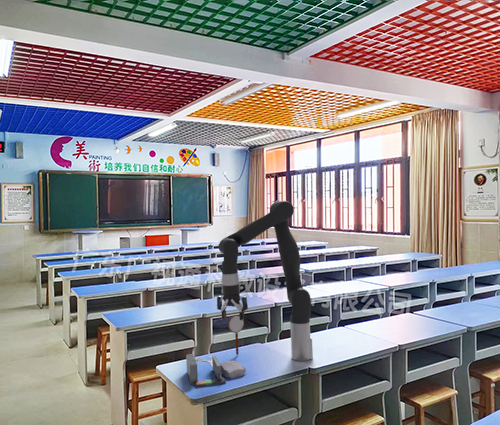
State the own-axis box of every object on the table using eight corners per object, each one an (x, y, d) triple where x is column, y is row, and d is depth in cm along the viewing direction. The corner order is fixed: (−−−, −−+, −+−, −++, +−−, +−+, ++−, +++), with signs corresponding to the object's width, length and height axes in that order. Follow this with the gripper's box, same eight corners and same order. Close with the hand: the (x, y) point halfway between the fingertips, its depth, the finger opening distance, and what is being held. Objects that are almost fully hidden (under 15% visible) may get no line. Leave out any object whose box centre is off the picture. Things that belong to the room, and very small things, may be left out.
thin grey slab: (216, 367, 186) (215, 355, 186) (223, 383, 169) (223, 369, 169) (212, 368, 185) (212, 356, 186) (220, 383, 168) (219, 370, 168)
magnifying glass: (230, 358, 200) (228, 316, 200) (228, 357, 201) (227, 316, 201) (246, 354, 203) (244, 314, 204) (244, 353, 205) (242, 313, 205)
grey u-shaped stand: (218, 368, 187) (217, 350, 187) (225, 383, 170) (224, 363, 170) (187, 372, 183) (186, 354, 183) (191, 388, 166) (190, 368, 166)
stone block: (236, 370, 188) (216, 370, 184) (238, 360, 189) (218, 359, 184) (248, 380, 178) (227, 380, 173) (249, 369, 178) (229, 369, 174)
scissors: (212, 353, 206) (229, 365, 188) (212, 355, 206) (229, 367, 188) (192, 358, 201) (208, 370, 183) (192, 359, 201) (208, 372, 183)
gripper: (248, 282, 184) (251, 318, 184) (220, 281, 191) (223, 316, 191) (241, 285, 178) (243, 322, 178) (212, 284, 184) (215, 321, 184)
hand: (233, 319), depth 184 cm, fingers open, 8 cm apart
